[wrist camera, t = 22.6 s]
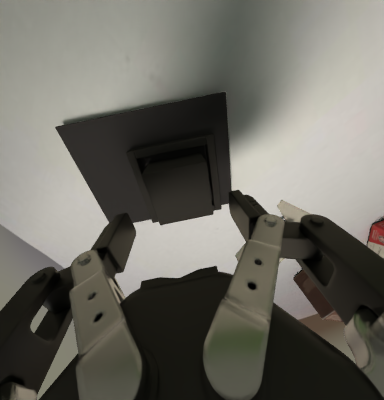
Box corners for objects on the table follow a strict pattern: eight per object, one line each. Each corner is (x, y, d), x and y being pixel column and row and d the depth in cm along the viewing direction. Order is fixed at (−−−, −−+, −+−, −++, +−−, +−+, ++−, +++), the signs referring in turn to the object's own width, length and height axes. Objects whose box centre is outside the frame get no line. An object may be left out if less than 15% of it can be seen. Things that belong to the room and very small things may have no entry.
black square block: (163, 205, 19) (160, 225, 15) (149, 162, 16) (141, 174, 13) (206, 196, 19) (213, 214, 15) (199, 151, 16) (206, 161, 13)
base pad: (114, 221, 21) (108, 233, 19) (63, 126, 15) (44, 127, 13) (229, 198, 21) (235, 207, 19) (222, 93, 15) (230, 89, 13)
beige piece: (235, 255, 26) (240, 268, 24) (281, 200, 22) (293, 209, 19) (267, 265, 28) (275, 277, 26) (316, 216, 24) (330, 226, 22)
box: (291, 278, 31) (321, 319, 25) (312, 258, 29) (351, 299, 22) (312, 282, 33) (345, 323, 26) (334, 264, 30) (376, 304, 24)
